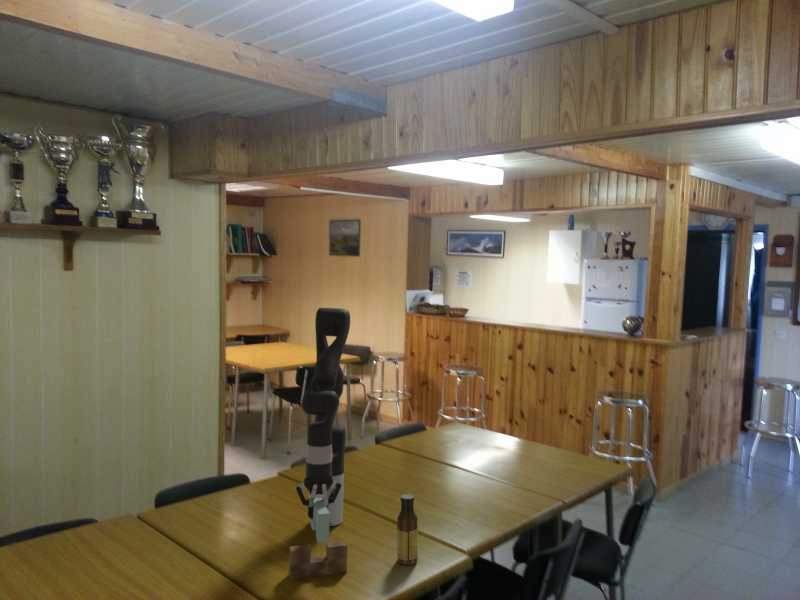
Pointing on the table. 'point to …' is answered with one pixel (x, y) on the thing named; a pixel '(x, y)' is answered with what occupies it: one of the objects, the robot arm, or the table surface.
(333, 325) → the robot arm
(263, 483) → the table surface
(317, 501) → the teal board
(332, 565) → the walnut u-shaped block
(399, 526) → the sauce bottle
